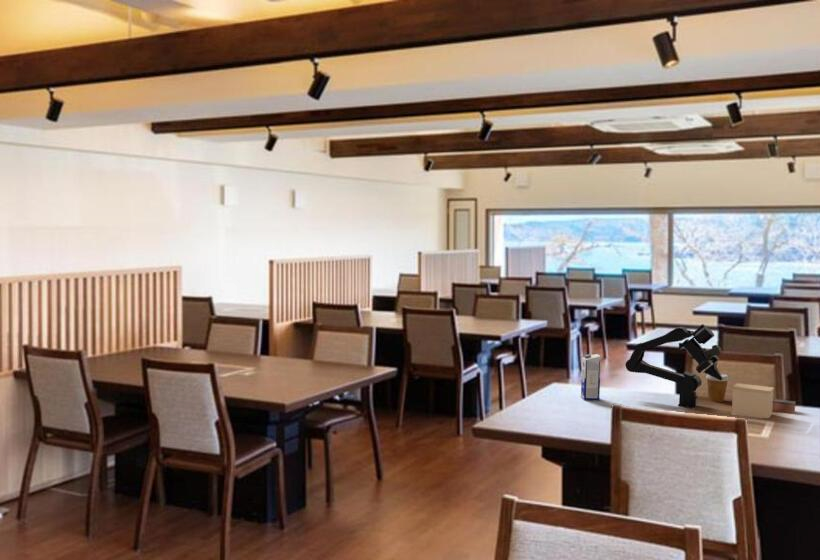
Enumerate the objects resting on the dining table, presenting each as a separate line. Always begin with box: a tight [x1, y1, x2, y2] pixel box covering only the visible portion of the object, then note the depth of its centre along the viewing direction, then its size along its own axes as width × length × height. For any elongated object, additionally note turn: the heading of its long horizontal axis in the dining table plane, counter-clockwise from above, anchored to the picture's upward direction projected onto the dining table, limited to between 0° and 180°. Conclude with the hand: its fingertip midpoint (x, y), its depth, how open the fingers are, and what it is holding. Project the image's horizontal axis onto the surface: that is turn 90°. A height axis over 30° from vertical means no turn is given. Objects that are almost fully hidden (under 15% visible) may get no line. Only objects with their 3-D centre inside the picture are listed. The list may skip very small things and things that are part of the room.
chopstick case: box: [772, 398, 797, 414], centre depth 333 cm, size 20×5×5 cm, turn 57°
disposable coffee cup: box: [705, 373, 730, 403], centre depth 348 cm, size 10×10×12 cm
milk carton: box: [580, 353, 602, 402], centre depth 346 cm, size 7×7×20 cm
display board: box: [731, 412, 764, 420], centre depth 320 cm, size 24×13×1 cm, turn 57°
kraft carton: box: [731, 382, 775, 419], centre depth 322 cm, size 14×9×11 cm, turn 57°
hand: (721, 379), depth 328 cm, fingers closed
